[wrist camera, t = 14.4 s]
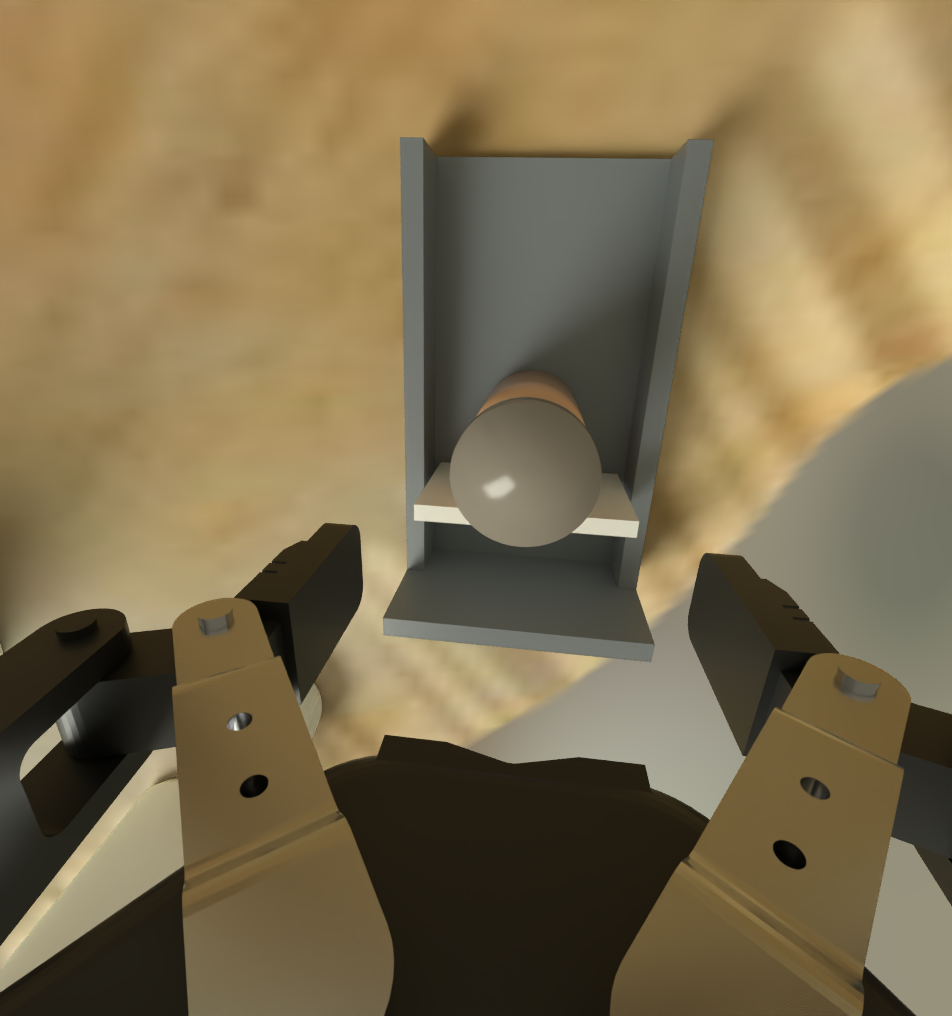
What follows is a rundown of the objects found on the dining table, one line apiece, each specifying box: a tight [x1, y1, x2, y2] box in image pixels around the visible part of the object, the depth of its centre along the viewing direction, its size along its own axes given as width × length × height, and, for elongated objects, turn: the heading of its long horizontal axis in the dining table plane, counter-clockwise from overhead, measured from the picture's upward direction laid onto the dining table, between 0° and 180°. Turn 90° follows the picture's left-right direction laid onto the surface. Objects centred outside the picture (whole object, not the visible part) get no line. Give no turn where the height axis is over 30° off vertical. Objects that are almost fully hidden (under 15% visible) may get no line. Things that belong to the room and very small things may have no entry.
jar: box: [450, 370, 602, 547], centre depth 24 cm, size 6×6×11 cm
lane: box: [383, 137, 714, 662], centre depth 25 cm, size 22×13×8 cm, turn 178°
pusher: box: [414, 462, 639, 538], centre depth 27 cm, size 1×10×7 cm, turn 88°
